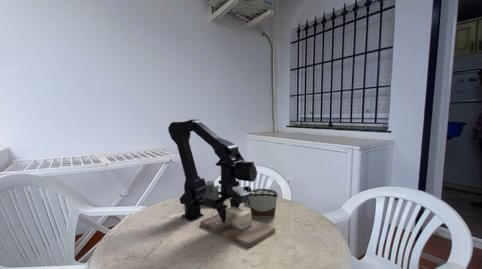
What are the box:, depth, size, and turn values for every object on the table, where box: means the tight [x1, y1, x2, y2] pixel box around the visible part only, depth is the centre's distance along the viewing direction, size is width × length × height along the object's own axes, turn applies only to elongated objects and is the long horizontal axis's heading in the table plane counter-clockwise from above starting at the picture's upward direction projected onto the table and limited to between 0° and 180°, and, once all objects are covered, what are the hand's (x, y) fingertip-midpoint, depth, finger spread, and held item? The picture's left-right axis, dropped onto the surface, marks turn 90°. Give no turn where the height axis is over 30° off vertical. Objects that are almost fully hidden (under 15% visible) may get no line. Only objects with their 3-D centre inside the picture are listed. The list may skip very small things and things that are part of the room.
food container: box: [249, 188, 279, 218], centre depth 99 cm, size 12×6×10 cm, turn 84°
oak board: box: [199, 214, 276, 249], centre depth 87 cm, size 24×14×2 cm, turn 48°
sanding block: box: [224, 206, 252, 231], centre depth 86 cm, size 9×5×5 cm, turn 47°
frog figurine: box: [239, 197, 250, 208], centre depth 113 cm, size 12×12×4 cm
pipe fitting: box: [199, 180, 221, 204], centre depth 114 cm, size 12×8×10 cm, turn 88°
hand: (229, 219), depth 89 cm, fingers closed on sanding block, 5 cm apart
